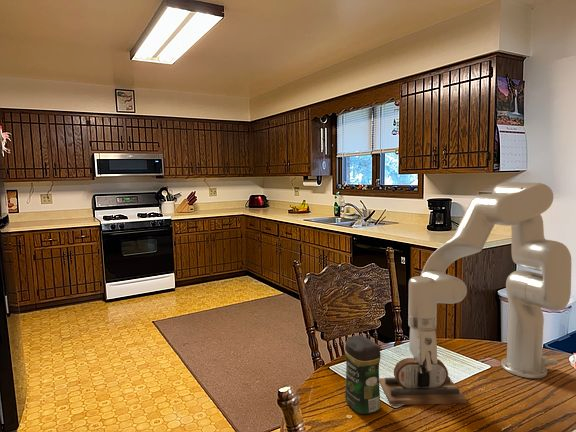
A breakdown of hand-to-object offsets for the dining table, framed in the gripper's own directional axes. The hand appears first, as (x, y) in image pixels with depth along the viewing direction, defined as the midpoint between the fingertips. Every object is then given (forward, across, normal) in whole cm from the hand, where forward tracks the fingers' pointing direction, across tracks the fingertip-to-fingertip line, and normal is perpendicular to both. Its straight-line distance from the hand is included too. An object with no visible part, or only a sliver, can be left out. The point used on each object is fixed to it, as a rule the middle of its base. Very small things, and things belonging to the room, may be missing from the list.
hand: (421, 382), depth 114 cm
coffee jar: (+3, -6, +18) cm, 19 cm away
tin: (+2, 0, 0) cm, 2 cm away
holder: (+3, 0, 0) cm, 3 cm away
